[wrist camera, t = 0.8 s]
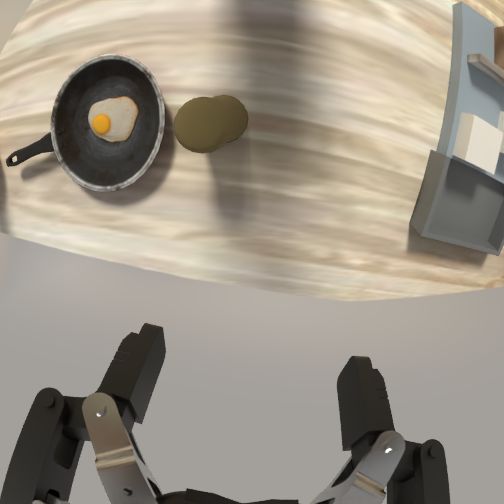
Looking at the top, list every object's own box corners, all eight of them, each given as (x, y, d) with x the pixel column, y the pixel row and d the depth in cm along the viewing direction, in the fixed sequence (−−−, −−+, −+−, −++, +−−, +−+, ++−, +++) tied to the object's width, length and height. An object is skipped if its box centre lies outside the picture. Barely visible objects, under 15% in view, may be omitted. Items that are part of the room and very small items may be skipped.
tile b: (461, 112, 24) (474, 114, 21) (490, 128, 23) (503, 133, 21) (452, 154, 27) (464, 160, 24) (481, 168, 26) (493, 174, 24)
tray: (430, 149, 29) (446, 156, 26) (507, 185, 29) (522, 194, 25) (409, 223, 35) (420, 236, 31) (486, 244, 34) (498, 256, 31)
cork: (257, 125, 30) (248, 135, 21) (216, 152, 33) (190, 174, 23) (229, 85, 28) (206, 77, 19) (188, 114, 30) (151, 121, 21)
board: (452, 4, 17) (461, 1, 15) (522, 56, 17) (531, 56, 14) (436, 151, 29) (445, 155, 27) (504, 183, 29) (513, 189, 27)
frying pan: (184, 175, 34) (174, 183, 31) (31, 204, 38) (19, 213, 35) (166, 38, 25) (154, 32, 22) (12, 110, 29) (-3, 114, 26)
